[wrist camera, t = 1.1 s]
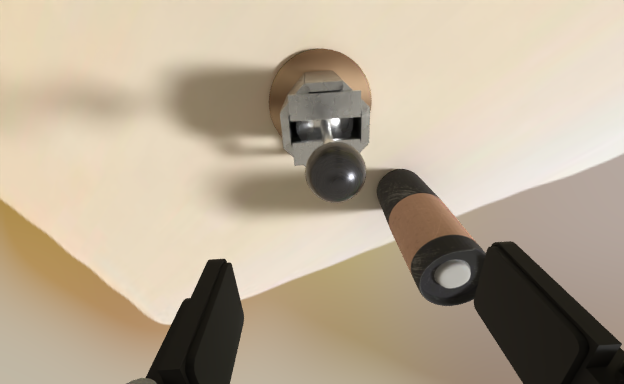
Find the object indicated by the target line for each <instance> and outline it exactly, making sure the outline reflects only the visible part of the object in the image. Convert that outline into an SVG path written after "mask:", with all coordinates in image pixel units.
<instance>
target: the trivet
mask: <svg viewBox="0 0 624 384" xmlns="http://www.w3.org/2000/svg"><path fill="white" fill-rule="evenodd" d="M329 70H332V71H334V72H335V73H336V74H337V75H338V76H339V77H340V78H341V79H342V80H343V81H344V82H345V83H346V84H347V85H348V86H349V87H350V88H351V89H352V90H361V99H362V100H363V101H364V102H365V103H366V104H367V105H368V106H369V107H370V110H371V91H370V87H369V83H368V81H367V78H366V76H365V74H364V73H363V71H362V70H361V68H360V67H359V66H358V65H357V64H356V63H355V62H354V61H353V60H352V59H350V58H349V57H347V56H346V55H344V54H342V53H340V52H337V51H333V50H328V49H313V50H308V51H305V52H302V53H300V54H298V55H296V56H295V57H293V58H291V59H290V60H289V61H288V62H287V63H285V65H284V66H283V67H282V68H281V69H280V71H279V72H278V74H277V75H276V77H275V79H274V81H273V84H272V87H271V91H270V96H269V109H270V114H271V118H272V121H273V124H274V126H275V128H276V129H277V131H278V133H279V134H280V135H281V136H282V129H281V120H280V112H281V109H282V106H283V104H284V101H285V99H286V96H287V94H288V92H289V91H290V90H291V89H292V87H293V86H294V85H295V84H296V82H297V81H298V80H299V79H300V77H301V76H302V75H303V74H304V73H305V72H315V71H329Z"/></svg>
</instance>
